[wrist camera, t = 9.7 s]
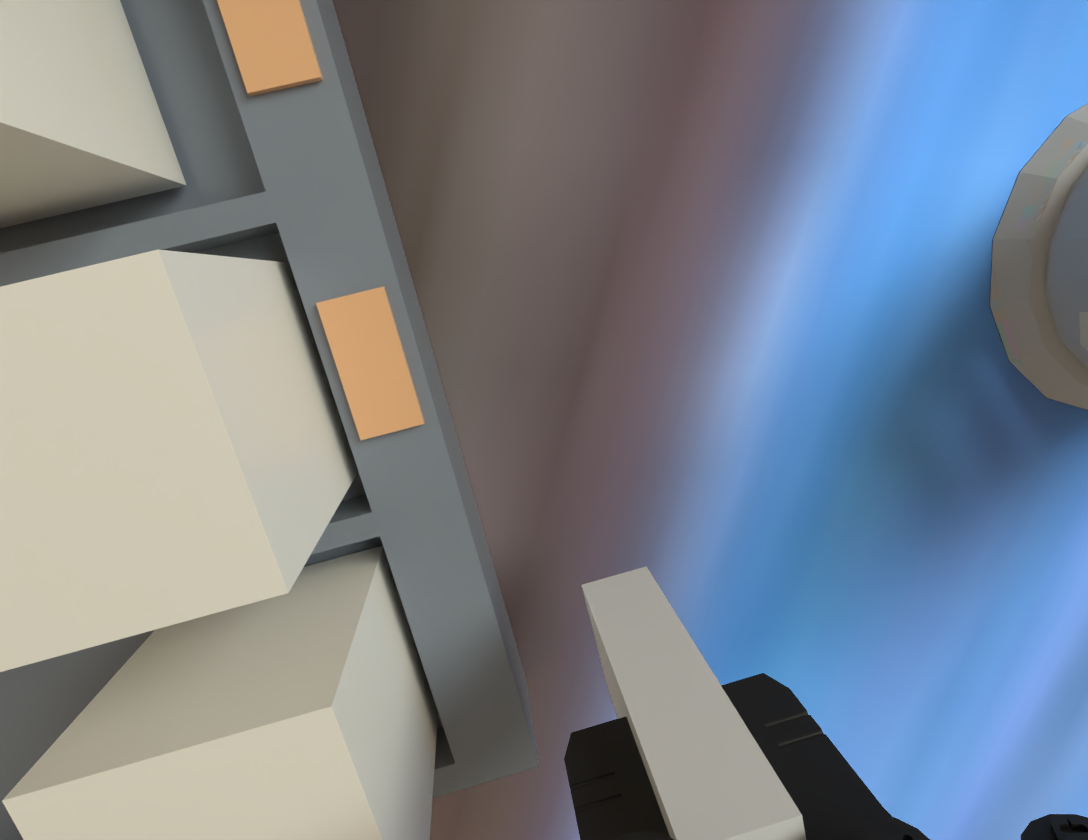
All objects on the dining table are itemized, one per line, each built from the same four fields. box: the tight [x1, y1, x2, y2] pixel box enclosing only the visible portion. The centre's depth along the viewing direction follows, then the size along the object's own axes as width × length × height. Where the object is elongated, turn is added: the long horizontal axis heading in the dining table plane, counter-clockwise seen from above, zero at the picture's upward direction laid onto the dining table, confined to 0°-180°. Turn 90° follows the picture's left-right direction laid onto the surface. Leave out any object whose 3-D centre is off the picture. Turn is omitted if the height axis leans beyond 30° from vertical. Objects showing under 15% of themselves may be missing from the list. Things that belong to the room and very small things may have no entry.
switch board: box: [0, 0, 539, 840], centre depth 14 cm, size 22×20×4 cm
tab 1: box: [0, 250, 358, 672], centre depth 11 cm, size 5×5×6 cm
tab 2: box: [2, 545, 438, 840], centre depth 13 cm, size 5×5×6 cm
